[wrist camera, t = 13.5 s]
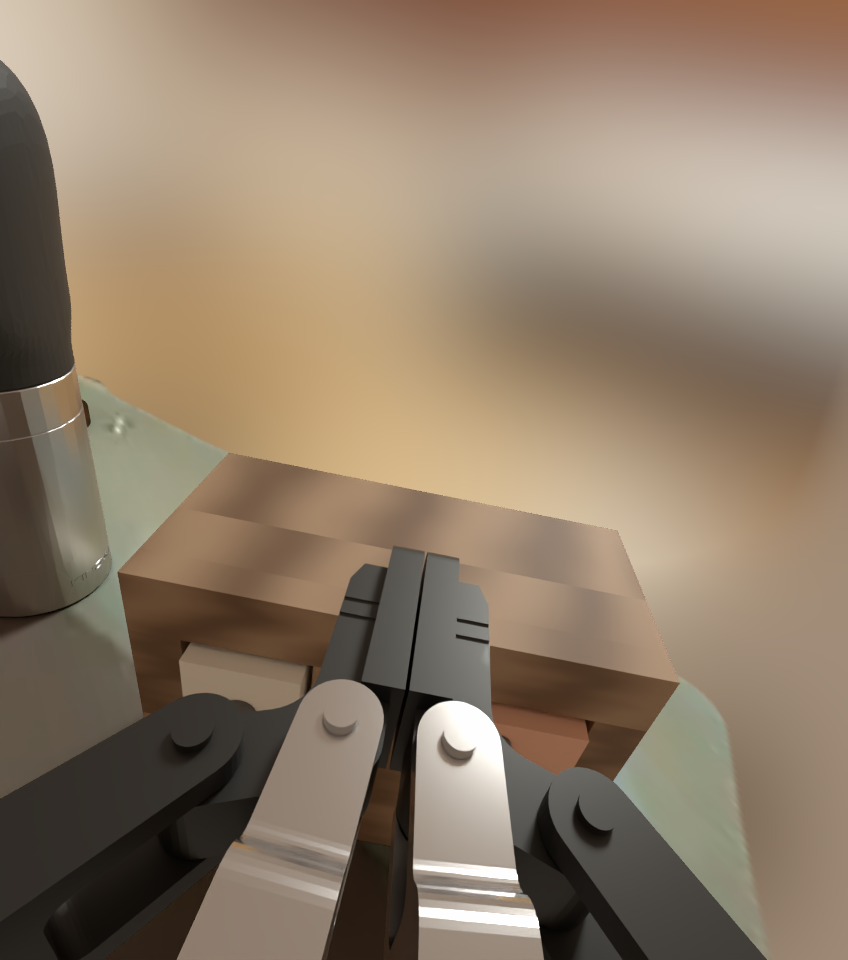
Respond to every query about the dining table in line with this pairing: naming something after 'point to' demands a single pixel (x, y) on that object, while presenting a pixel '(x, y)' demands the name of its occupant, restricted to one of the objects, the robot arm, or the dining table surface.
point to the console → (369, 539)
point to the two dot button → (542, 735)
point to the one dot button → (243, 677)
